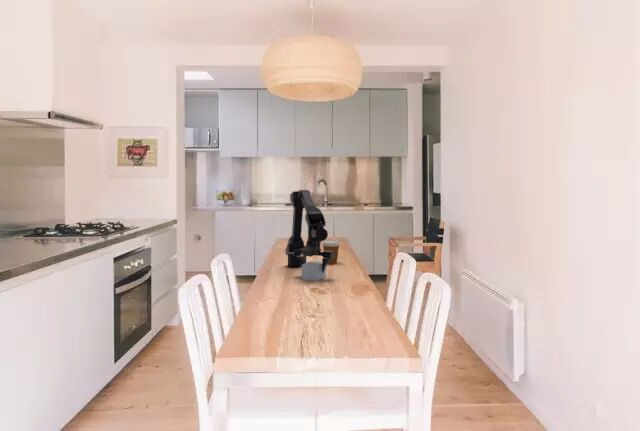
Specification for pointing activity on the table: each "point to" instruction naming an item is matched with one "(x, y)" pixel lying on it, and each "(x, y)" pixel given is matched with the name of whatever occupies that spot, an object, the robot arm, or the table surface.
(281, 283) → the table surface
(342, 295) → the table surface
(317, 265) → the grey rectangular block
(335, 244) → the disposable coffee cup
